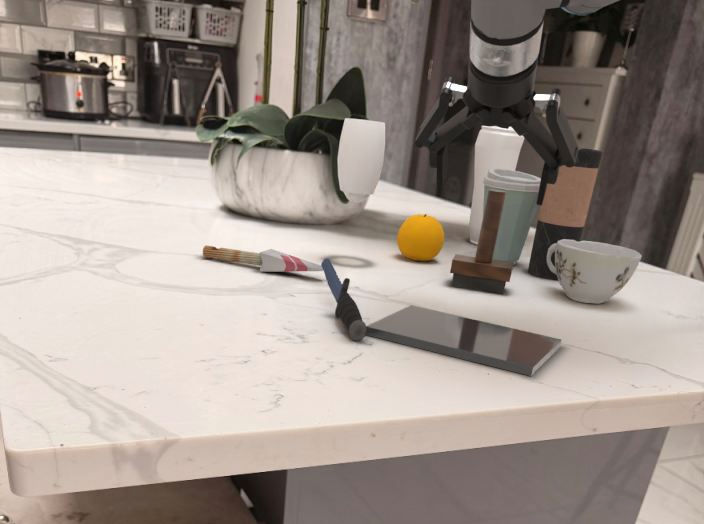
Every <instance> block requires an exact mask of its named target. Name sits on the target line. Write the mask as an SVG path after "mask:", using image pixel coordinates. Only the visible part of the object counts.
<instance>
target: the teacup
mask: <svg viewBox="0 0 704 524" xmlns="http://www.w3.org/2000/svg"><path fill="white" fill-rule="evenodd" d="M554 251H555V267H554V265H553V264H552V262H551V255H552V253H553V252H554ZM642 257H643V256H642V254H641V253H640V252H639V251H637V250H635V249H632V248H628V247H625V246H620V245H617V244H610V243H606V242H599V241H591V240H590V241H589V240H580V242H577V241H574V240H566V239H562V240H560V241H558V242H557V243H555V244H553V245H551V246H550V248H549V249H548V253H547V264H548V267H549V269H550V270H551V271H552V272H553V273H555V274H556V275H557V277H558V280H557V281H558V283H559V284H560V286H561V289H562V290H563V291H564V293H565V295H566V298H568V299H570V300H572V301H576V302H578V303H579V302H580V303H584V304H598V305H599V304H605V303H606V302H607V301H608V300H609V299H610V298H612V297H613V296H615V295H616V294H617V293H618V292H620V291H621V290H622V289H623V288H624V287H625V286H626V285H627V284H628V283H629V281H630V280H631V279H632V278H633V275H634V274H635V272H636V270H637V268H638V266H639V264H640V262H641V260H642Z"/></svg>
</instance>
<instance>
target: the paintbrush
mask: <svg viewBox="0 0 704 524" xmlns="http://www.w3.org/2000/svg"><path fill="white" fill-rule="evenodd" d="M202 255H203V257H204V258H205V259H217V260H220V261H225V262H233V263H239V264H247V265H253V266H259V267H260V269H259V271H258V272H260V273H262V272H264V273H265V272H324V271H323V268H322V266H321V264H318V263H315V262H312V261H309V260H306V259H302V258H299V257H296V256H294V255H291V254H289V253H288V254H287V253H285V252H281V251H278V250H275V249H272V248H270V249H266V250H264V251H260V252H254V251H246V250H241V249H240V250H239V249H232V248H226V247H219V248H217V247H216V246H212V245H204V247H203V249H202Z"/></svg>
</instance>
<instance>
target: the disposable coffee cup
mask: <svg viewBox="0 0 704 524" xmlns="http://www.w3.org/2000/svg"><path fill="white" fill-rule="evenodd" d="M540 182H541V177H538V176H536V175H533V174H530V173H526V172H522V171H519V170H515V171H514V170H508V169H489V170H488V175H487V176H485V177H484V181H483V184H484V205H483V215H484V210H485V205H486V199H487V194H488V190H489V189H494V190H501V191H505V192H506V196H505V201H504V206H503V210H502V215H501V220H500V225H499V230H498V235H497V240H496V245H495V249H494V254H493V259H492V260H499V261H505V262H512V263H513V266H514V265H517V263H518V261H520V259H521V255H522V252H523V249H524V247H525V244H526V240H527V238H528V235H529V233H530V230H531V226H532V223H533V221H534V218H535V215H536V212H537V209H538V206H539V205H536V204H537V199H538V193H539V187H540Z"/></svg>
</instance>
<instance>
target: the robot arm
mask: <svg viewBox="0 0 704 524" xmlns="http://www.w3.org/2000/svg"><path fill="white" fill-rule="evenodd" d="M619 1H620V0H471V3H470V5H471V6H470V27H469V43H468V45H469V46H468V51H469V57H468V66H467V67H468V69H467V84H466V85H461V84H458V83H456V80H455V78H454V77H452V76H447V77H445V79H444V82H443V84H442V89H441V91H440V94H439V97H438V99H437V100H436V102H435V103H434V104H433V106H432V107H431V110H430V111H429V112H428V114H427V116H426V117H425V118H424V120H423V121H422V123H421V124H420V126H419V128H418V130H417V135H416V137H415V140H414V146H415V147H416V148H420V149H422V148H423V147H424V148H426V149H427V150H428V153H429V155H428V156H429V157H428V158H429V160H428V161H429V167H430V168H431V169H436V190H437V191H441V192H442V191H443V190H444V186H445V183H446V180H447V176H448V150H449V149H448V145H449V144H450V143H451V142H452V141H454V139H456V138H458V137H459V136H460V135H461V134H462V133H464V132H465V131H466V130H471V129H472V128H474V127H475V126H476V125H478V124H479V123H480V124H482V126H497V127H500V128H505V129H508V128H509V127H512V128H513V129H514V131H515V132H516V133H517V134H518V135H519V136H523V137H524V138H525V139H524V140H526V142H527V143H528V144H529V145H530V146H531V147H532V149H534V151H535V152H536V153H537V154H538V156H539V157H540V158H541V159H542V160H543V162H544V163H543V166H542V171H541V177H540V178H541V182H540V187H539V193H538V199H537V204H536V205H538V206H541V205H542V204H543V200H544V196H545V192H546V189H547V184H555V183H556V181H557V177H558V173H559V168H560V167H561V166H563V165H565V166H566V167H569V168H571V167H573V166H574V165H575V162H576V158H577V154H578V150H579V149H580V148H579V145H578V142H577V140H576V137H575V134H574V133H573V130H572V128H571V126H570V123H569V121H568V118H567V116H566V113H565V111H564V108H563V106H562V90H561V89H560V88H556V87H555V88H552V89H551V91H550V94H547V93H545V94H544V93H538V92H537V91H536V88H535V84H536V77H537V70H538V63H539V54H540V49H541V42H542V36H543V28H544V21H545V13H546V10H549V9H562V10H563V11H564V12H566V13H569V14H571V15H575V16H580V17H581V16H587V15H590V14H592V13H596V12H597V11H599V10H601V9H603V8H604V7H607V6H609V5H612V4H614V3H617V2H619ZM459 100H462V102H463V103H464V105H465V106H464V108H462V109H461V110H459V111H458V112H457V113H455V114H454V115H453V116H452V117H451V118H450V119H448V120H447V121H446V122H445V123H443V124H442V125H441V126H439V124H440V123H441V121H442V120H443V118H444V117H445V115H446V114H447V112H448V109H449V107H453V106H454V104H457V102H458V101H459ZM535 108H537V109H539V111H540V113H541V117H542V118H545V120H546V124H547V127H548V129H549V130H548V129H547V128H546V127H545V125H544V124H543V122H542V121H541V120H540V119H539V118H538V116H536V113H535ZM438 126H439V128H437V127H438Z"/></svg>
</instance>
